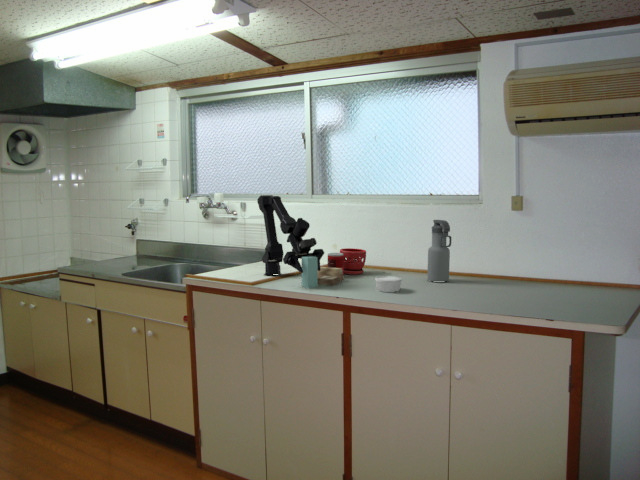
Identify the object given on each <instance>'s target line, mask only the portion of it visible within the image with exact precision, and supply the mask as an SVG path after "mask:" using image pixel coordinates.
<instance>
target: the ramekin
mask: <svg viewBox="0 0 640 480" xmlns="http://www.w3.org/2000/svg"><path fill="white" fill-rule="evenodd" d="M374 280H375V285H376V290H377V291H378V292H380V291H383V292H382V293H389V292H391V293H396V292H395V291H398V292H399V291H400V289H401V285H402V278H401V277H399V276H388V275H387V276H382V275H381V276H376V277H375V278H374Z"/></svg>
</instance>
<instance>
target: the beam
mask: <svg viewBox="0 0 640 480" xmlns="http://www.w3.org/2000/svg"><path fill="white" fill-rule="evenodd" d="M320 269H321V270H320V271H318V269H317V274H319V275H333V276H340V275H342V268H330V267H328V266H320Z"/></svg>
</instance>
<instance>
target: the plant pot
mask: <svg viewBox="0 0 640 480" xmlns="http://www.w3.org/2000/svg"><path fill="white" fill-rule="evenodd" d="M339 253H343V255H344V273H343V275H349V276H350V275H352V276H353V275H354V276H355V275H361V274H363V272H364V271H365V270H364V266H365V264H366V259H367V250H366V249H362V248H350V247H349V248H346V247H345V248H341V249H339Z"/></svg>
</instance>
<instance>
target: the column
mask: <svg viewBox="0 0 640 480" xmlns="http://www.w3.org/2000/svg"><path fill="white" fill-rule="evenodd" d="M301 267H302V270H303V273H301V287H304V288H306V289H310V288H318V284H317V257H314V256H305V257H302V259H301Z"/></svg>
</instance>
